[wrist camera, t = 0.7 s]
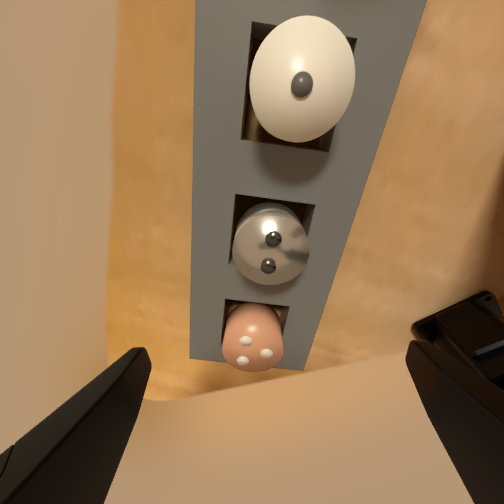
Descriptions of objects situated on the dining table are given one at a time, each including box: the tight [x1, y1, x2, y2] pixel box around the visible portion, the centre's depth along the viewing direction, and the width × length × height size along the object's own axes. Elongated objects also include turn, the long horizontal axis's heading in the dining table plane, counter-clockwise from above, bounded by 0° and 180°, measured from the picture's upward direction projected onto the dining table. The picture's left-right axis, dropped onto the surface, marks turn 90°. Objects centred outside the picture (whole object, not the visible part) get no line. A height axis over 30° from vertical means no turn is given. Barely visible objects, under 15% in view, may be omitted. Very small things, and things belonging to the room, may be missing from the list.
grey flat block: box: [189, 0, 427, 371], centre depth 17 cm, size 25×10×2 cm, turn 173°
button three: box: [222, 302, 283, 372], centre depth 18 cm, size 4×4×3 cm
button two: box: [232, 202, 310, 285], centre depth 15 cm, size 4×4×3 cm
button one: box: [250, 15, 355, 142], centre depth 11 cm, size 4×4×3 cm
